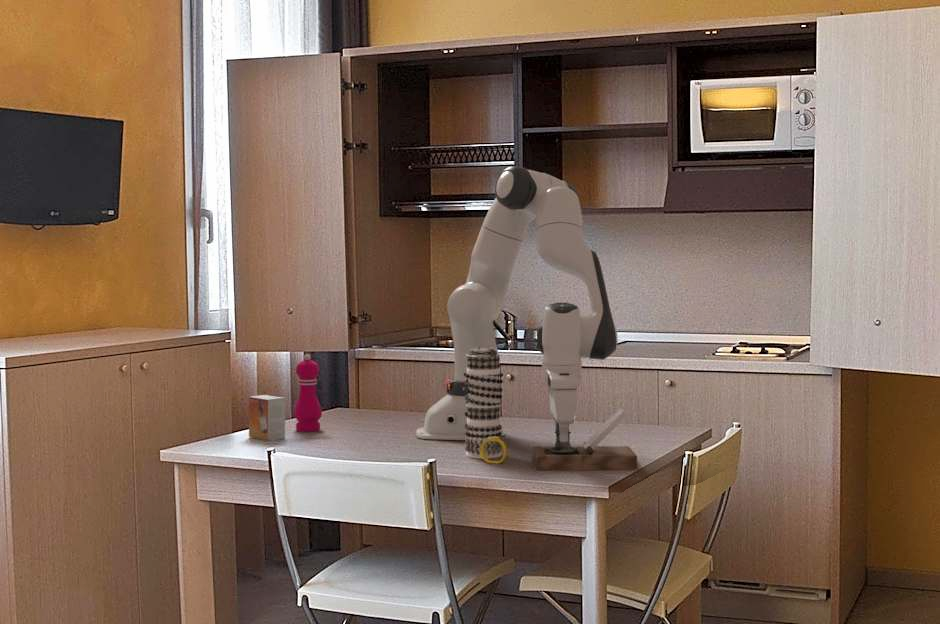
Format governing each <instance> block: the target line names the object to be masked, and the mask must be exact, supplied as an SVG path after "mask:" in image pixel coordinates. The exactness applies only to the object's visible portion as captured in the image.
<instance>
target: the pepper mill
mask: <svg viewBox="0 0 940 624" xmlns="http://www.w3.org/2000/svg"><path fill="white" fill-rule="evenodd" d="M311 358H312V357H311V355H310V354H308V353H307V354H304V356H303V359H304V360H301V361H300V362H298V363H297V365H296V367H295V372H296V375H297V377H298V379H297V384H298V386H299V396H298V400H297V402H296V404H295V406H294V411H293V415H294V416H293V417H294V418H295V419H296V421H297V423H296V424H295V429H296V431H297V432H300V433H301V432H305V433H310V432H319V431H320V430H321V423H320V422H319V420H320V419H321V417H322V415H323V413H322V407H321V404H320V401H319V399H318V397H317V391H316V385H318V378H317V376H318V375H319V372H320V366H319V365H318V363H317V362H315V361H314V360H311Z"/></svg>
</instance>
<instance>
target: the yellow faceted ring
mask: <svg viewBox="0 0 940 624" xmlns="http://www.w3.org/2000/svg"><path fill="white" fill-rule="evenodd" d="M500 439H501V436H499V437H498V436H491V437H488V438H487V440H486V441H484V442H483V444H482V446H481V455H482V458H483V461H485V463H487V464H501V463H503V461H505V460H506V458H507V456H508V448H507V445H506V444H505V442H504V441H503V439H501V440H500ZM488 441H497V442H499V443H500V444H501V445H500V446H501V447H502V450H503V455H502V456H501V459H500V460H491V459H490V458H487V457H486V455H485V452H484V447H485V445H486V443H487V442H488Z"/></svg>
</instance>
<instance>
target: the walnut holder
mask: <svg viewBox="0 0 940 624" xmlns="http://www.w3.org/2000/svg"><path fill="white" fill-rule="evenodd" d="M586 442H587V441H584V442H583V444H582V445H581V446H580V445H579V446H571V447H572V448H575V449H576V451H575V454H574V455H551V451H550V448H553V447H554V446H532V462H533V464H534V466H535V469H536V471H593V470H594V471H606V470H608V471H610V470H612V471H621V470H622V471H623V470H624V471H628V470H630V471H632V470H635V471H637V470H638V455H637V454H636V453H635V452H634V451H633V449H632V448H631V447H630V446H628V445H626V446H625V445H623V446H622V445H621V446H620V445H619V446H618V445H617V446H616V445H613V446H612V445H611V446H610V445H609V446H608V445H607V446H604V445H603V446H599V445H597V446H596V447H595V448H594V449H592V448H588V449H587V450H586V449H585V448H584V446H583V445H584V444H585V443H586Z"/></svg>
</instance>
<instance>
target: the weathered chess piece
mask: <svg viewBox="0 0 940 624" xmlns="http://www.w3.org/2000/svg"><path fill="white" fill-rule="evenodd" d="M554 433H555V434H556V435H555V439H556V441H555V445H554V446H552V447H553V448H550V451H551V455H574V454H575V451H576V449H575V448H572V447H573V446H572V445H571V441H570V435H571V434H572V433H571V431H570V430H569V432H568V441H567V442H561V441H560V440H559V433H560V432H559V423H558V422H557V431H556V432H555V431H554Z"/></svg>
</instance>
